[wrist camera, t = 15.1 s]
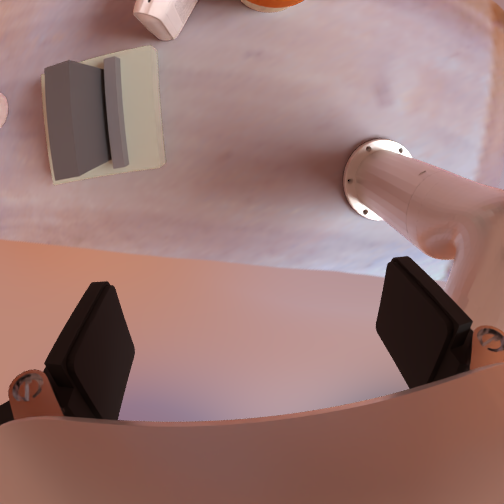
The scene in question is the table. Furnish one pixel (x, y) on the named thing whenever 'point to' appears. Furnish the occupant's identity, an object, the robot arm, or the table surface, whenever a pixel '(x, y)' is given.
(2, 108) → the white cup
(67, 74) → the thin grey panel
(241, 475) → the robot arm
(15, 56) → the table surface
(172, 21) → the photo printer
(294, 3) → the reusable coffee cup
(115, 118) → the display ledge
